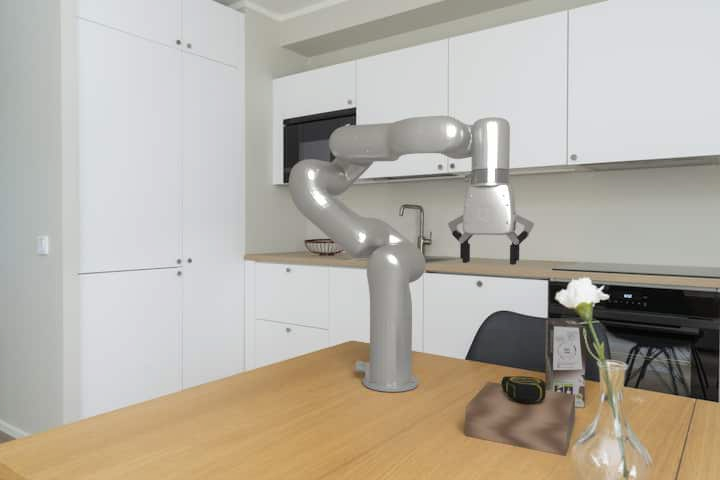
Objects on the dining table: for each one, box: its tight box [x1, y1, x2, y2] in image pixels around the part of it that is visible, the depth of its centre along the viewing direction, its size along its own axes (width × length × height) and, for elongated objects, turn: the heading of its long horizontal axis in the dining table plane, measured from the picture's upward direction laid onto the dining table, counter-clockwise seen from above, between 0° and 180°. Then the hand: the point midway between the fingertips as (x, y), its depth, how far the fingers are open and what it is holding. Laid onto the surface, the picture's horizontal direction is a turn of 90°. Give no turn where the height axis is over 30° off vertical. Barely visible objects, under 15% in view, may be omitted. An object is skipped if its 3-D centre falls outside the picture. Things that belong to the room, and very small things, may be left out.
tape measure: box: [500, 375, 546, 403], centre depth 89 cm, size 7×7×4 cm
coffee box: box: [545, 318, 587, 408], centre depth 105 cm, size 9×6×16 cm
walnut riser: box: [464, 381, 576, 457], centre depth 89 cm, size 16×16×5 cm
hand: (489, 263), depth 104 cm, fingers open, 9 cm apart
